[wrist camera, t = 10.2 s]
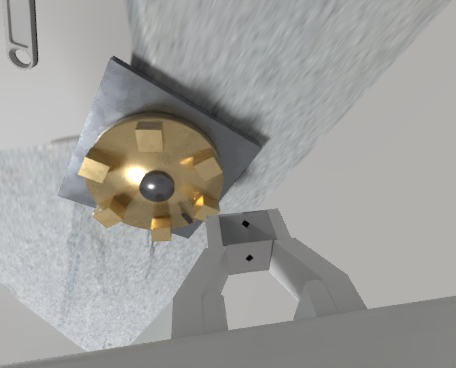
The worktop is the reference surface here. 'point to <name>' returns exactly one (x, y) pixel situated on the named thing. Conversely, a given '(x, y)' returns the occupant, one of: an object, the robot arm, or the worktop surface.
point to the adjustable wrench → (21, 31)
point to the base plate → (152, 103)
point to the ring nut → (153, 174)
